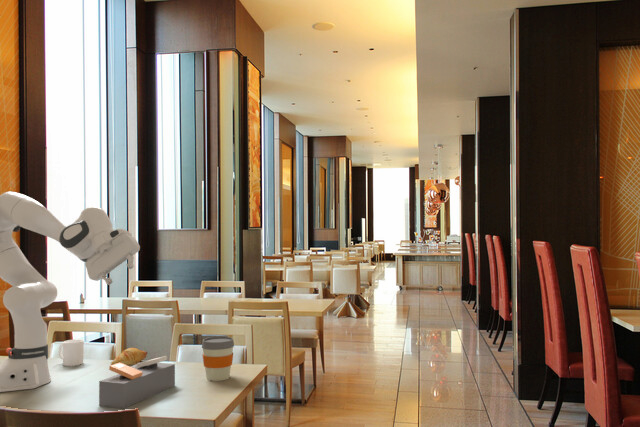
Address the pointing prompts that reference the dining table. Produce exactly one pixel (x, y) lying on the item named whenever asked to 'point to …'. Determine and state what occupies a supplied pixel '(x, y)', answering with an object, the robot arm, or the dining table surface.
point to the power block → (136, 385)
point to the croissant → (130, 357)
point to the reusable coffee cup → (217, 357)
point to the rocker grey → (151, 361)
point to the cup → (72, 352)
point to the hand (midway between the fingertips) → (120, 275)
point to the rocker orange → (125, 371)
